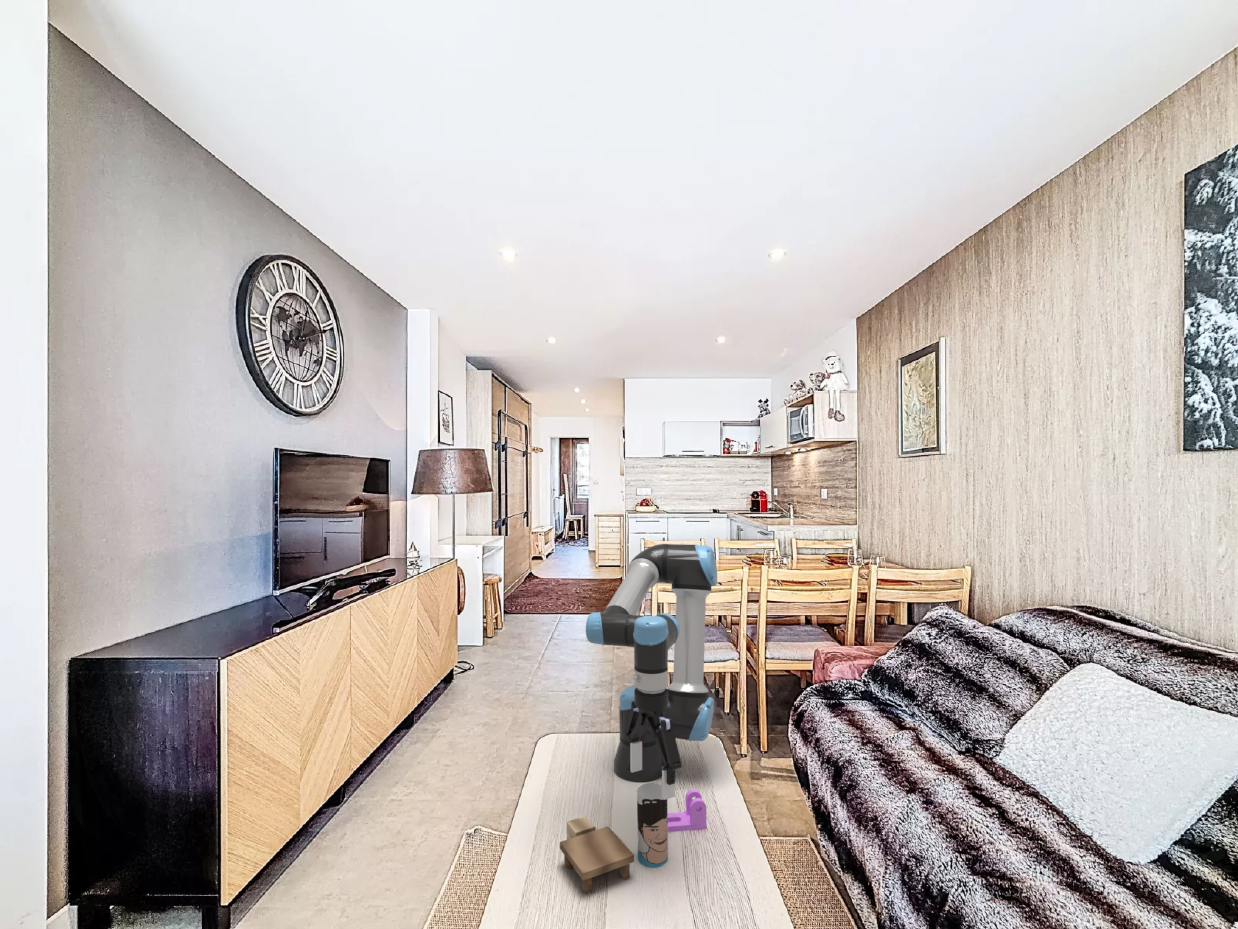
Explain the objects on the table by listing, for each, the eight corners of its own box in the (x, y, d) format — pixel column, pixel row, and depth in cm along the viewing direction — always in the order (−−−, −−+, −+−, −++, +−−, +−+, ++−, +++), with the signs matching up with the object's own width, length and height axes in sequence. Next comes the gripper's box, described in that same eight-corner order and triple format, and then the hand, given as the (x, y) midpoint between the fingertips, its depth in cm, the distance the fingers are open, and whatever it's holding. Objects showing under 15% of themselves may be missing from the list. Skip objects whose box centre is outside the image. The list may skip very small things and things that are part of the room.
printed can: (642, 869, 136) (641, 800, 136) (634, 850, 142) (633, 785, 142) (671, 864, 137) (671, 796, 137) (662, 846, 144) (662, 781, 144)
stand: (608, 847, 143) (608, 826, 143) (634, 878, 133) (634, 854, 133) (560, 864, 138) (559, 841, 138) (583, 897, 127) (583, 873, 127)
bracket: (700, 816, 156) (700, 788, 156) (706, 829, 151) (706, 800, 150) (649, 820, 154) (648, 792, 154) (653, 833, 149) (653, 804, 149)
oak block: (586, 836, 148) (586, 815, 148) (595, 848, 143) (595, 826, 143) (566, 843, 145) (566, 821, 145) (575, 855, 141) (575, 832, 141)
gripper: (610, 674, 149) (610, 764, 148) (667, 710, 127) (668, 815, 127) (637, 669, 152) (637, 757, 152) (697, 703, 130) (698, 805, 130)
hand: (651, 783), depth 139 cm, fingers open, 13 cm apart
